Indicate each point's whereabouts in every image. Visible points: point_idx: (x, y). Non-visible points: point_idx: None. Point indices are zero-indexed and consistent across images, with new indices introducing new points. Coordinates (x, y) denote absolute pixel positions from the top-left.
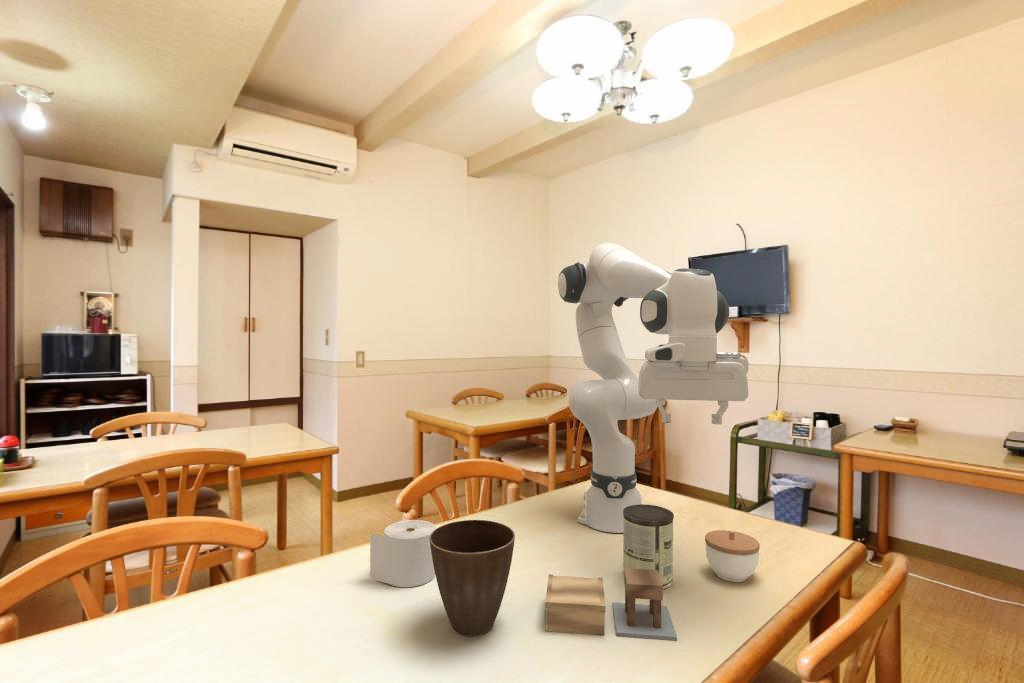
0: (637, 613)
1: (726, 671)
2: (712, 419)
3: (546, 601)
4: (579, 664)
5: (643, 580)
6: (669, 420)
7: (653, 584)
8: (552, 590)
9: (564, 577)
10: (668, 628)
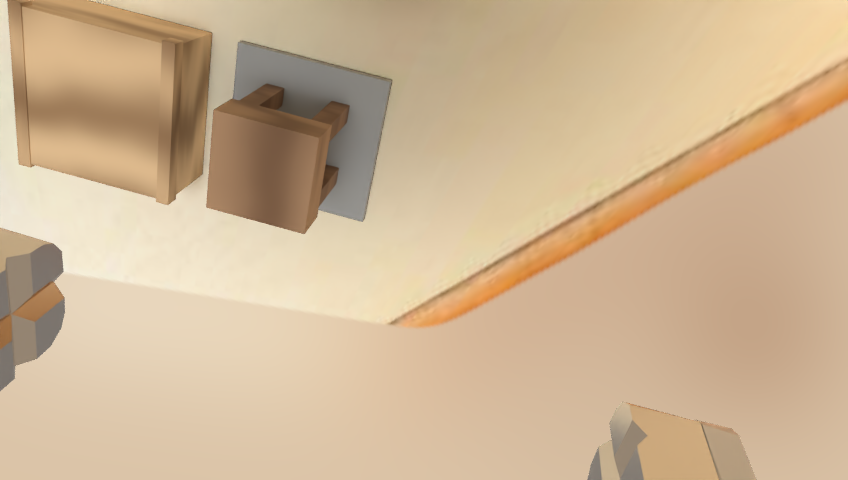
0: (295, 109)
1: (424, 322)
2: (625, 453)
3: (21, 161)
4: (142, 259)
5: (256, 196)
6: (24, 350)
7: (279, 221)
8: (30, 103)
9: (58, 24)
10: (354, 187)
